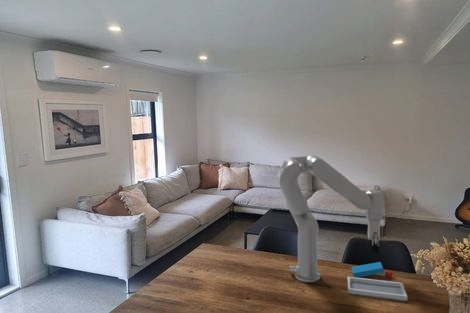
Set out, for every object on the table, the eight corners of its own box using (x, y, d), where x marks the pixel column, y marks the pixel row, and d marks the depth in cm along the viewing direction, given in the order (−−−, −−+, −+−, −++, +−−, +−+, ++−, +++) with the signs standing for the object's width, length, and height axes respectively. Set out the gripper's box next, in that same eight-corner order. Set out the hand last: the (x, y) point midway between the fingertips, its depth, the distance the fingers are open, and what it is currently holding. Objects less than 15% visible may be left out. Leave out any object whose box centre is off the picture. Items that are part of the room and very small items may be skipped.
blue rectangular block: (356, 286, 164) (394, 280, 160) (352, 273, 164) (390, 266, 159) (355, 279, 171) (391, 273, 166) (351, 267, 171) (387, 260, 166)
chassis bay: (348, 294, 149) (348, 289, 149) (347, 281, 160) (347, 276, 160) (407, 301, 142) (407, 296, 141) (402, 287, 153) (402, 282, 153)
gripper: (364, 210, 171) (364, 241, 173) (367, 220, 154) (367, 255, 156) (380, 210, 168) (380, 242, 170) (385, 221, 152) (384, 257, 154)
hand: (374, 249), depth 163 cm, fingers open, 9 cm apart
